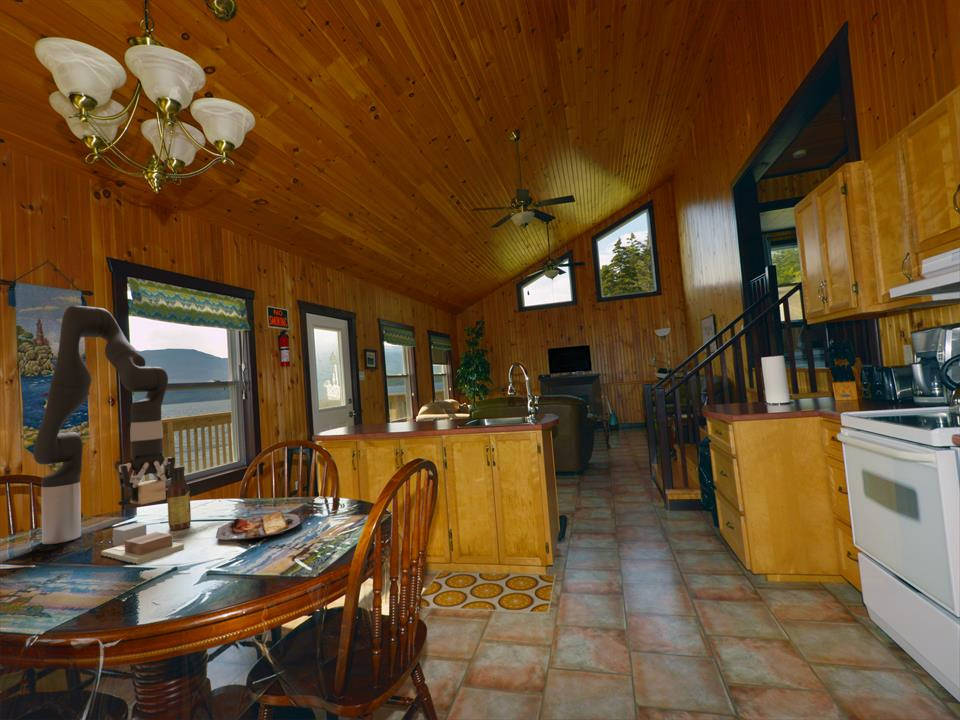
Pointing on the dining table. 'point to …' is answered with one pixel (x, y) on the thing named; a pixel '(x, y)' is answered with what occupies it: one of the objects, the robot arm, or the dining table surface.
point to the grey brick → (128, 533)
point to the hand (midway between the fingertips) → (148, 498)
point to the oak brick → (150, 491)
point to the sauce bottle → (178, 501)
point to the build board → (129, 557)
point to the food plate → (258, 526)
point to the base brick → (148, 543)
